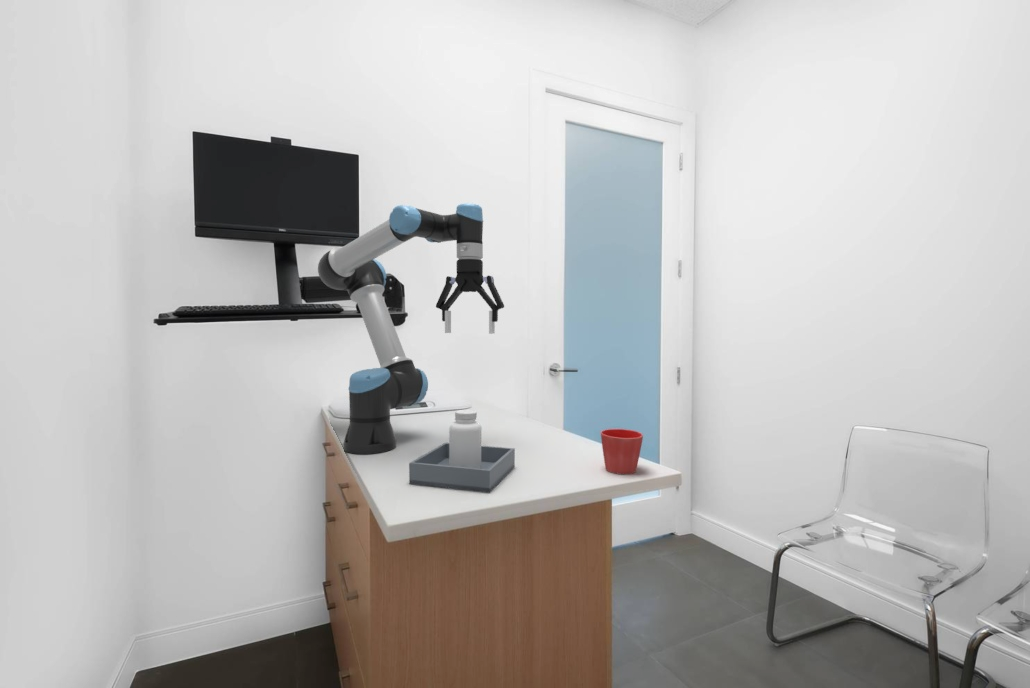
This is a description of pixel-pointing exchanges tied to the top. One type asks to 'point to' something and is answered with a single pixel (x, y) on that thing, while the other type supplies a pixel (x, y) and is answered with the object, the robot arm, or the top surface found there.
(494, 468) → the tray
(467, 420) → the pill bottle
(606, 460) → the flower pot
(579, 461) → the top surface
